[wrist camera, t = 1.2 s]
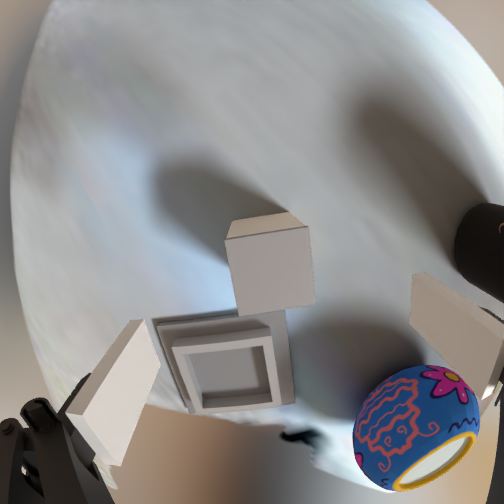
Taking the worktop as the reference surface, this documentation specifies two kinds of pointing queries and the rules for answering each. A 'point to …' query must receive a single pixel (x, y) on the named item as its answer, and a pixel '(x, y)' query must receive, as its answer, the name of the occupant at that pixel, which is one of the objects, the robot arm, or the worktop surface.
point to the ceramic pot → (415, 427)
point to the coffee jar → (482, 248)
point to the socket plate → (230, 361)
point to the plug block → (270, 263)
